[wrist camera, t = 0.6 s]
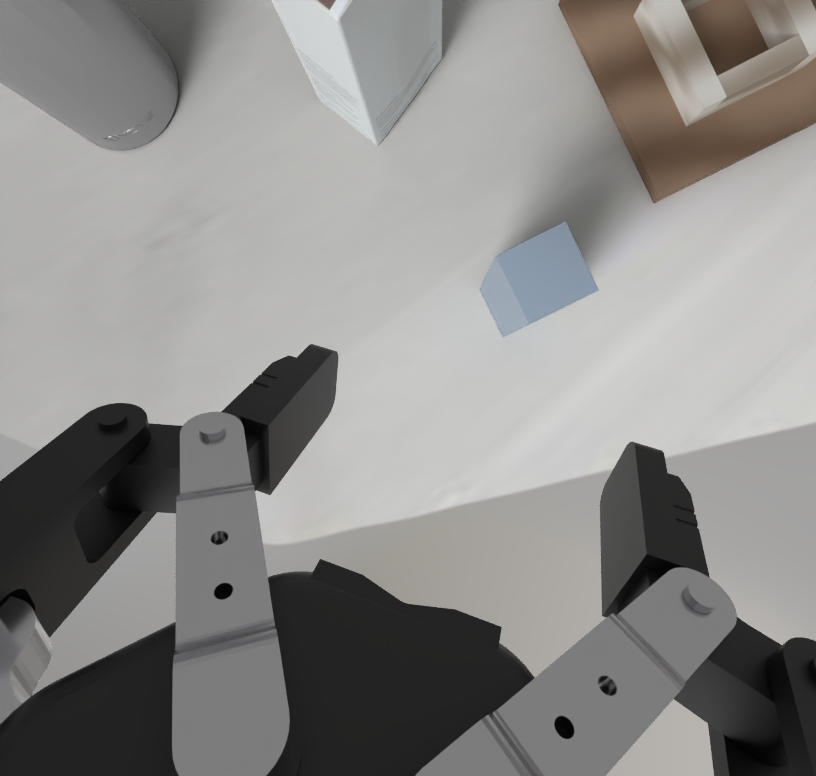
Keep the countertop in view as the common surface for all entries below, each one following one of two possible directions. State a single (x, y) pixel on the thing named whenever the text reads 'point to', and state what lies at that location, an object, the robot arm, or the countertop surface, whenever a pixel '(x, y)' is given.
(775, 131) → the socket board
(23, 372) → the countertop surface
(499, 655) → the robot arm
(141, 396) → the countertop surface
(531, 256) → the plug
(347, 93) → the skincare box
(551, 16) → the countertop surface
